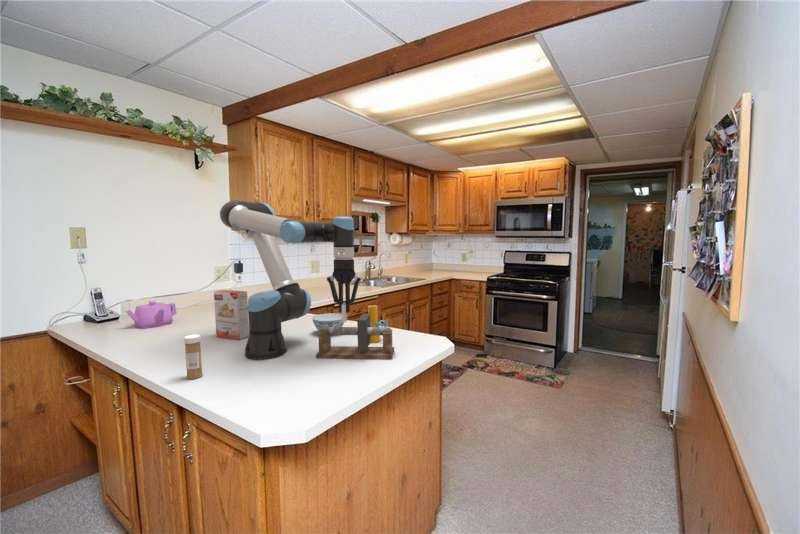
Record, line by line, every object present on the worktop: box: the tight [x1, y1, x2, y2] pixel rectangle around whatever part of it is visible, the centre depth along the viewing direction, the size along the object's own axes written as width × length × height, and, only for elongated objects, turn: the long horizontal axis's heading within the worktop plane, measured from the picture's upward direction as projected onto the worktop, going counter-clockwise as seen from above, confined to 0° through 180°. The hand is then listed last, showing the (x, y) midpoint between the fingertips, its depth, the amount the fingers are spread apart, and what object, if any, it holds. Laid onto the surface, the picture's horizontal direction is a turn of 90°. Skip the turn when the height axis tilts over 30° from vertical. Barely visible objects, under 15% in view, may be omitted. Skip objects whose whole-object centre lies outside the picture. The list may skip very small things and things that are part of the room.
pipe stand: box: [315, 326, 395, 360], centre depth 136 cm, size 28×10×11 cm, turn 86°
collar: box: [356, 313, 371, 350], centre depth 136 cm, size 3×11×11 cm, turn 176°
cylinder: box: [367, 304, 388, 343], centre depth 154 cm, size 12×10×15 cm
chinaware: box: [312, 312, 345, 332], centre depth 166 cm, size 15×15×8 cm
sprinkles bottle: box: [183, 334, 203, 380], centre depth 115 cm, size 5×5×14 cm
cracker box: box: [213, 289, 249, 341], centre depth 161 cm, size 14×6×21 cm, turn 68°
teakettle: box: [125, 300, 177, 330], centre depth 185 cm, size 17×17×12 cm
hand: (344, 320), depth 136 cm, fingers closed
